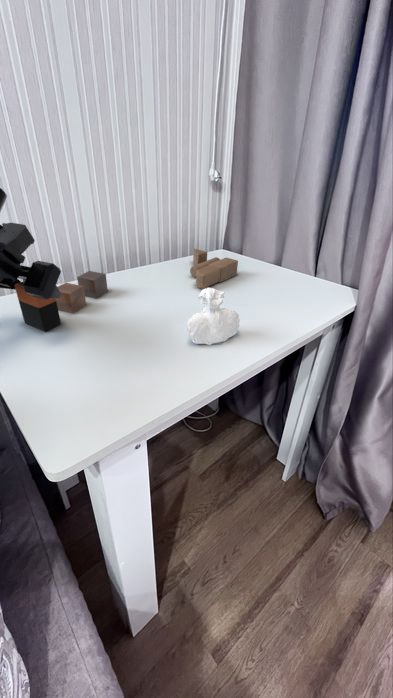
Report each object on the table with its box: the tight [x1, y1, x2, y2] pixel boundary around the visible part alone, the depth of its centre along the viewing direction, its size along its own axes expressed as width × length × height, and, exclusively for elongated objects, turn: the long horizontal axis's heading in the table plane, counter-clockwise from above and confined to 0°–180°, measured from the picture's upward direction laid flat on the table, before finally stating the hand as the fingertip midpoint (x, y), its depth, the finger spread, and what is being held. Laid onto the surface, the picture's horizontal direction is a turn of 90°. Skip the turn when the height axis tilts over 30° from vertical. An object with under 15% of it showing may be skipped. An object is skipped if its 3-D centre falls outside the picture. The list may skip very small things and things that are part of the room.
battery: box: [15, 279, 62, 332], centre depth 68 cm, size 4×7×10 cm, turn 60°
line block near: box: [56, 282, 87, 315], centre depth 77 cm, size 5×5×5 cm
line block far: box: [76, 270, 109, 300], centre depth 84 cm, size 5×5×5 cm
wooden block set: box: [189, 248, 239, 290], centre depth 99 cm, size 17×6×18 cm
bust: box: [185, 287, 241, 346], centre depth 68 cm, size 12×8×11 cm
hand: (41, 291), depth 69 cm, fingers open, 9 cm apart
